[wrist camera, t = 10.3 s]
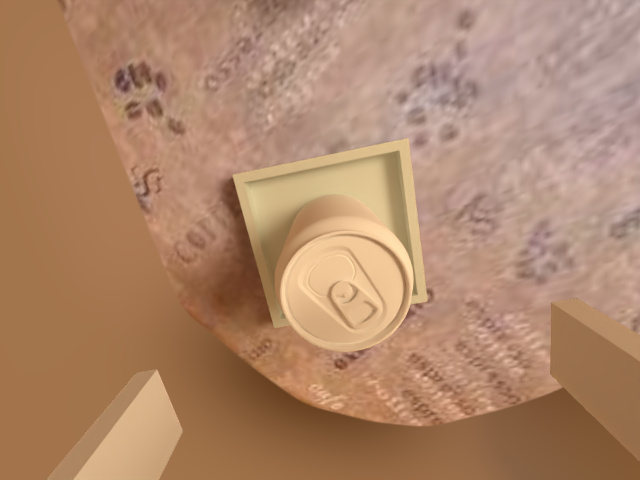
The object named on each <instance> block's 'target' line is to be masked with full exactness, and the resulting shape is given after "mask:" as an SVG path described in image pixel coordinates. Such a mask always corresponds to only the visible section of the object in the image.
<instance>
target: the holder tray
mask: <svg viewBox="0 0 640 480" xmlns="http://www.w3.org/2000/svg"><path fill="white" fill-rule="evenodd" d="M232 176H233V179H234V183H235V187H236V190H237V194H238V198H239V201H240V205H241V209H242V212H243V216H244V220H245V223H246V227H247V231H248V234H249V238H250V242H251V245H252V249H253V253H254V256H255V260H256V264H257V267H258V271H259V275H260V278H261V282H262V286H263V289H264V293H265V297H266V300H267V304H268V308H269V311H270V315H271V319H272V322H273V326H274V328H278V327H283V326H289V325H290V324H289V322H288V321H287V319H286V317H285V315H284V314H283V312H282V310H281V308H280V306H279V304H278V301H277V297H276V292H275V271H276V266H277V263H278V260H279V257H280V255H281V252H282V249H283V247H284V244H285V242H286V239H287V237H288V234H289V232H290V229H291V227H292V224H293V222H294V220H295V218H296V216H297V214H298V213H299V212H300V210H301V209H302V208H303V207H304V206H305V205H306V204H308V203H309V202H311V201H312V200H314V199H316V198H318V197H321V196H324V195H329V194H343V195H348V196H351V197H354V198H356V199H358V200H360V201H361V202H363V203H364V204H365V205H366V206H368V207H369V208H370V209H371V211H372V212H373V213H374V214H375V215H376V216H377V217H378V218H379V219H380V220H381V221H382V222H383V223H384V224H385V225H386V226H387V227H388V229H389V230H390V231H391V232H392V233H393V234H394V235H395V236H396V237H397V238H398V239H399V241H400V242H401V243H402V245H403V246H404V248H405V249H406V251H407V253H408V255H409V258H410V261H411V264H412V269H413V291H412V297H411V302H410V304H415V303H421V302H427V293H426V284H425V276H424V267H423V259H422V250H421V242H420V233H419V225H418V216H417V208H416V199H415V191H414V182H413V174H412V165H411V157H410V148H409V140H408V138H406V139H402V140H397V141H392V142H387V143H382V144H378V145H373V146H368V147H363V148H358V149H354V150H349V151H344V152H339V153H335V154H330V155H325V156H320V157H315V158H311V159H306V160H301V161H296V162H292V163H287V164H282V165H277V166H272V167H268V168H263V169H258V170H253V171H248V172H244V173H239V174H234V175H232Z"/></svg>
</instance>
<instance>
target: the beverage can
mask: <svg viewBox="0 0 640 480" xmlns="http://www.w3.org/2000/svg"><path fill="white" fill-rule="evenodd" d="M412 291H413V269H412V264H411V261H410V258H409V255H408V253H407V251H406V249H405V248H404V246H403V245H402V243H401V242H400V241H399V239H398V238H397V237H396V236H395V235H394V234H393V233H392V232H391V231H390V230H389V229H388V227H387V226H386V225H385V224H384V223H383V222H382V221H381V220H380V219H379V218H378V217H377V216H376V215H375V214H374V213H373V212H372V211H371V209H370V208H369V207H368V206H366V205H365V204H364V203H363V202H361V201H360V200H358V199H356V198H354V197H351V196H348V195H343V194H329V195H324V196H321V197H318V198H316V199H314V200H312V201H311V202H309V203H308V204H306V205H305V206H304V207H303V208H302V209H301V210H300V212H299V213H298V214H297V216H296V218H295V220H294V222H293V224H292V227H291V229H290V232H289V234H288V237H287V239H286V242H285V244H284V247H283V249H282V252H281V255H280V257H279V260H278V263H277V266H276V271H275V292H276V297H277V301H278V304H279V306H280V308H281V310H282V312H283V314H284V315H285V317H286V319H287V321H288V322H289V324H290V325H291V327H292V328H293V329H294V330H295V331H296V332H297V333H298V334H299V335H300V336H301V337H302V338H303V339H305V340H306V341H308V342H309V343H311V344H313V345H315V346H317V347H320V348H323V349H326V350H331V351H337V352H352V351H358V350H363V349H366V348H369V347H372V346H374V345H376V344H378V343H380V342H382V341H383V340H385V339H386V338H387V337H389V336H390V335H391V334H392V333H393V332H394V331H395V330H396V329H397V328H398V327H399V326H400V324H401V323H402V321H403V320H404V318H405V316H406V314H407V312H408V309H409V306H410V302H411V297H412Z"/></svg>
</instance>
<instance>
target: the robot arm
mask: <svg viewBox="0 0 640 480" xmlns="http://www.w3.org/2000/svg"><path fill="white" fill-rule="evenodd" d="M550 374H551V375H552V376H553V377H554V378H555V379H556V380H557V381H558V382H559V383H560V384H561V385H562V386H563V387H564V388H565V389H566V390H567V391H568V392H569V393H570V394H571V395H572V396H573V397H574V398H575V399H576V400H577V401H578V402H579V403H580V404H581V405H582V406H583V407H584V408H585V409H586V410H587V411H588V412H589V413H590V414H591V415H593V417H594V418H595V419H596V420H598V421H599V422H600V423H601V424H602V425H603V426H604V427H605V428H606V429H607V430H608V431H609V432H610V433H611V434H612V435H613V436H614V437H615V438H616V439H617V440H618V441H619V442H620V443H621V444H622V445H623V446H624V447H625V448H626V449H627V450H628V451H629V452H630V453H631V454H632V455H633V456H634V457H635V458H636V459H637V460H638V461H639V462H640V335H639V334H637V333H635V332H634V331H632V330H630V329H628V328H627V327H625V326H623V325H622V324H620V323H618V322H616V321H615V320H613V319H611V318H610V317H608V316H606V315H604V314H603V313H601V312H599V311H598V310H596V309H594V308H592V307H591V306H589V305H587V304H585V303H584V302H582V301H580V300H579V299H577V298H575V299H569V300H563V301H557V302H551V361H550ZM182 432H183V430H182V428H181V426H180V423H179V421H178V418H177V416H176V413H175V411H174V409H173V406H172V404H171V402H170V399H169V397H168V394H167V392H166V390H165V387H164V385H163V382H162V380H161V378H160V375H159V373H158V371H157V370H150V371H144V372H139V373H135V375H134V376H133V377H132V378H131V379H130V381H129V382H128V383H127V384H126V385H125V387H124V388H123V389H122V390H121V391H120V392H119V394H118V395H117V396H116V397H115V398H114V400H113V401H112V402H111V403H110V404H109V406H108V407H107V408H106V409H105V411H104V412H103V413H102V414H101V415H100V416H99V418H98V419H97V420H96V421H95V422H94V423H93V425H92V426H91V427H90V428H89V429H88V431H87V432H86V433H85V434H84V435H83V437H82V438H81V439H80V440H79V442H78V443H77V444H76V445H75V446H74V447H73V448H72V450H71V451H70V452H69V453H68V454H67V456H66V457H65V458H64V459H63V460H62V462H61V463H60V464H59V465H58V467H57V468H56V469H55V470H54V471H53V472H52V473H51V475H50V476H49V477H48V478H47V479H46V480H159V478H160V476H161V474H162V472H163V470H164V468H165V466H166V464H167V462H168V460H169V458H170V456H171V454H172V452H173V450H174V448H175V446H176V444H177V442H178V440H179V438H180V436H181V434H182Z"/></svg>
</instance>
